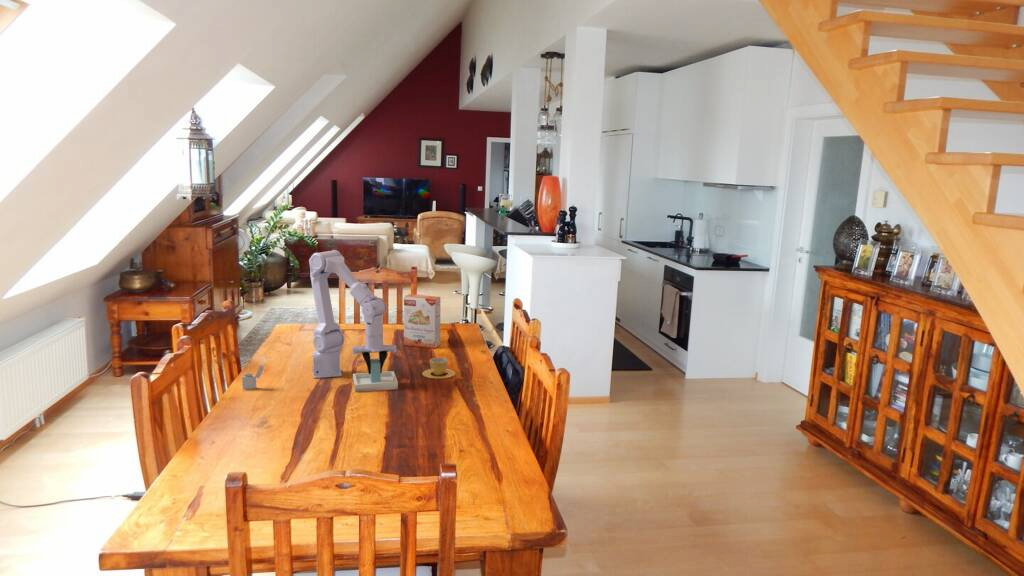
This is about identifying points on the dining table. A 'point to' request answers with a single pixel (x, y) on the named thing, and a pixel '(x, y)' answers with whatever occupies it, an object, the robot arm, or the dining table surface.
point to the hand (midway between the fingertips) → (374, 372)
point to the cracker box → (422, 321)
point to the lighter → (251, 379)
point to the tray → (364, 383)
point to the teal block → (375, 370)
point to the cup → (438, 369)
